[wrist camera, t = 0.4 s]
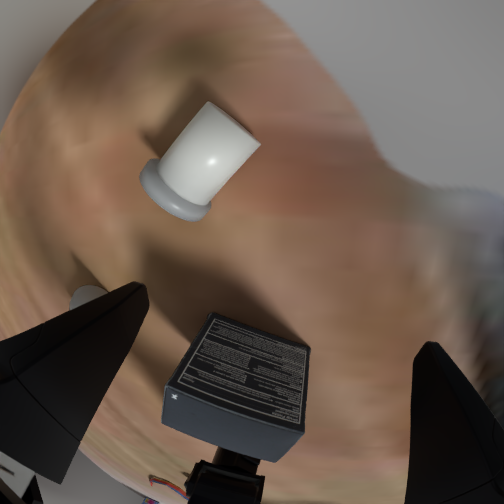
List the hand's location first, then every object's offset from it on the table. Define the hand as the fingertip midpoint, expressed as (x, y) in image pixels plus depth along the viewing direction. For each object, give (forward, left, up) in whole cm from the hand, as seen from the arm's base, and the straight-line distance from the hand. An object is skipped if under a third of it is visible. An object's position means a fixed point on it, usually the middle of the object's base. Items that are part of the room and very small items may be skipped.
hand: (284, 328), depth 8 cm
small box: (-13, -6, -15) cm, 21 cm away
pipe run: (-13, +9, -15) cm, 22 cm away
